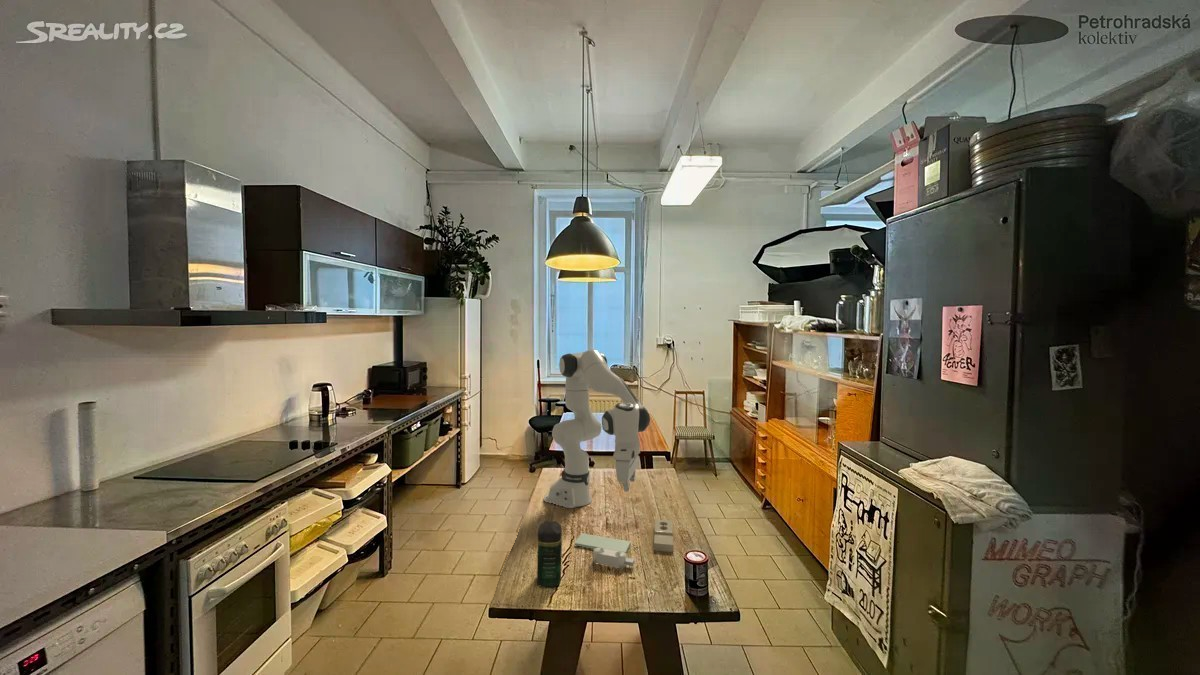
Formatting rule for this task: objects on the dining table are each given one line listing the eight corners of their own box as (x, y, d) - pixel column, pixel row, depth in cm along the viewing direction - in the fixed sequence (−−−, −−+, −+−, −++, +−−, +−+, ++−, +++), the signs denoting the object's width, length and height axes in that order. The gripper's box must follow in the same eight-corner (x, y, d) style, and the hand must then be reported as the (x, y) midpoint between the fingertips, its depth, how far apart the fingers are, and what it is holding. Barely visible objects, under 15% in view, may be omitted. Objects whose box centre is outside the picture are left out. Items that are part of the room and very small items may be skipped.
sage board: (574, 545, 169) (574, 542, 169) (581, 536, 177) (581, 533, 176) (625, 555, 163) (625, 552, 163) (630, 544, 170) (630, 541, 170)
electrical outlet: (654, 540, 166) (654, 519, 184) (653, 551, 167) (654, 528, 184) (673, 542, 165) (672, 520, 183) (673, 553, 166) (672, 530, 183)
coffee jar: (560, 588, 142) (561, 532, 141) (535, 589, 142) (536, 532, 141) (562, 571, 152) (562, 518, 151) (538, 571, 152) (539, 518, 151)
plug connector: (591, 563, 157) (591, 552, 157) (595, 557, 161) (595, 546, 161) (632, 571, 153) (632, 559, 153) (634, 565, 157) (635, 554, 156)
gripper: (625, 440, 172) (627, 475, 173) (612, 456, 152) (614, 496, 153) (641, 440, 170) (643, 475, 171) (629, 457, 151) (632, 497, 151)
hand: (629, 485), depth 162 cm, fingers open, 8 cm apart
